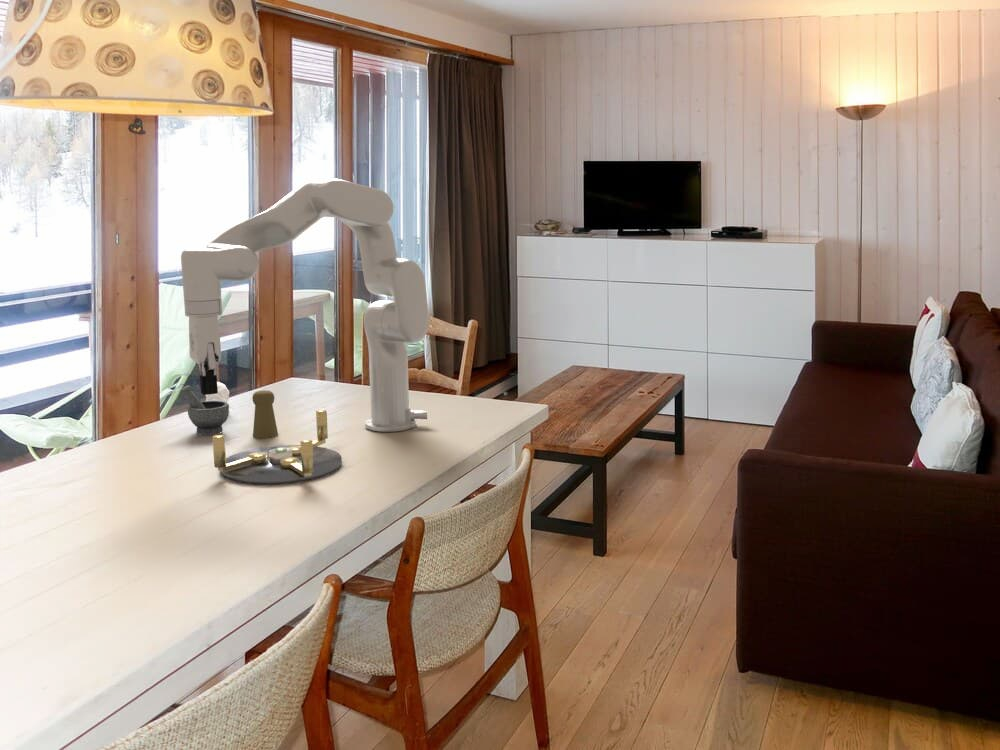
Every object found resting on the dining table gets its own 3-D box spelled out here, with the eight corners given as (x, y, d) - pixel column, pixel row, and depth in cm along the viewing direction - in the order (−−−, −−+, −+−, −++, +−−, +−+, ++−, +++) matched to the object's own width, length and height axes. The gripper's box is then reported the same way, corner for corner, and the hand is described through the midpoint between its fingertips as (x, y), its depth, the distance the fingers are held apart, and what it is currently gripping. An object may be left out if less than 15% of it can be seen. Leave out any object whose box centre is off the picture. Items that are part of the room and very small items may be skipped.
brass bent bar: (297, 457, 224) (295, 423, 222) (282, 455, 226) (280, 421, 224) (333, 442, 235) (331, 410, 234) (318, 440, 237) (317, 409, 235)
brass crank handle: (277, 464, 218) (275, 430, 217) (295, 461, 221) (293, 427, 219) (301, 480, 208) (299, 444, 206) (319, 476, 210) (317, 440, 208)
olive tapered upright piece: (272, 439, 245) (269, 394, 243) (248, 437, 246) (245, 393, 244) (282, 432, 251) (279, 388, 248) (259, 431, 252) (256, 388, 250)
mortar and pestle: (231, 426, 257) (228, 380, 254) (228, 436, 248) (225, 387, 245) (185, 428, 255) (182, 381, 253) (180, 438, 246) (177, 389, 244)
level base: (347, 448, 236) (346, 432, 235) (335, 483, 210) (334, 465, 209) (233, 451, 234) (232, 435, 234) (207, 486, 209) (206, 468, 208)
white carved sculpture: (229, 379, 271) (225, 393, 260) (231, 409, 274) (227, 424, 262) (204, 380, 270) (199, 394, 259) (207, 410, 273) (202, 425, 261)
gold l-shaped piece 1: (259, 456, 224) (257, 423, 223) (271, 459, 222) (269, 426, 221) (209, 471, 214) (207, 436, 213) (222, 474, 212) (219, 439, 210)
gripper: (178, 304, 218) (184, 388, 221) (191, 313, 205) (198, 402, 208) (214, 302, 221) (219, 385, 225) (229, 310, 208) (235, 398, 212)
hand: (209, 393), depth 217 cm, fingers closed
